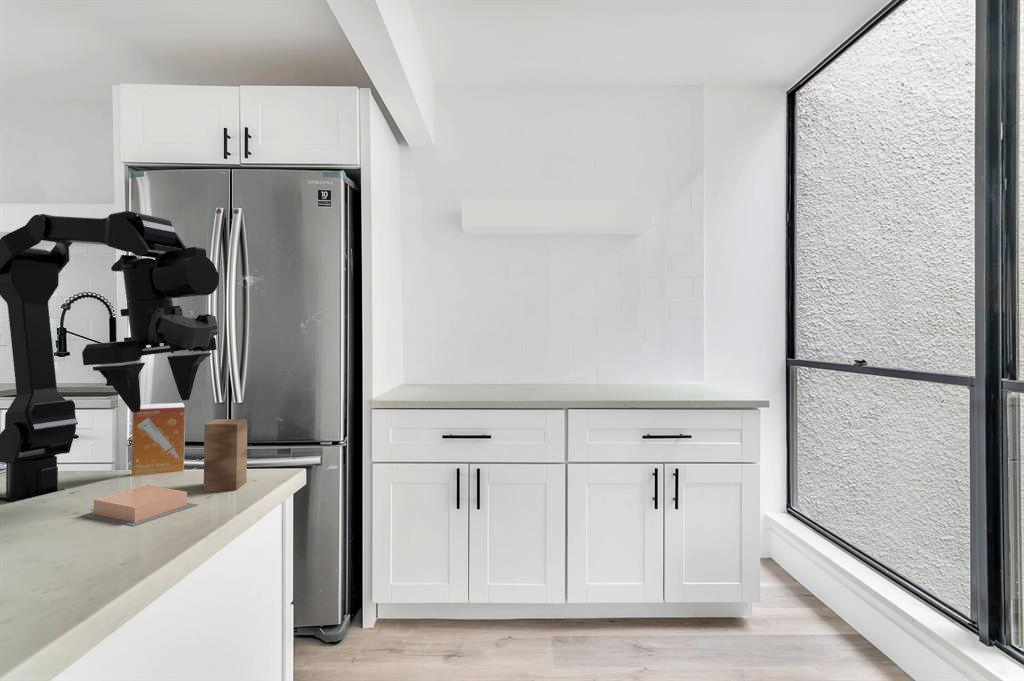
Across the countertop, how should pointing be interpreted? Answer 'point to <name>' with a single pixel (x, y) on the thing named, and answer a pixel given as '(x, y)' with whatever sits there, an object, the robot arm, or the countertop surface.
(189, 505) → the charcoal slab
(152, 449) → the small box
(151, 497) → the terracotta tile
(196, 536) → the countertop surface
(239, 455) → the walnut pillar
